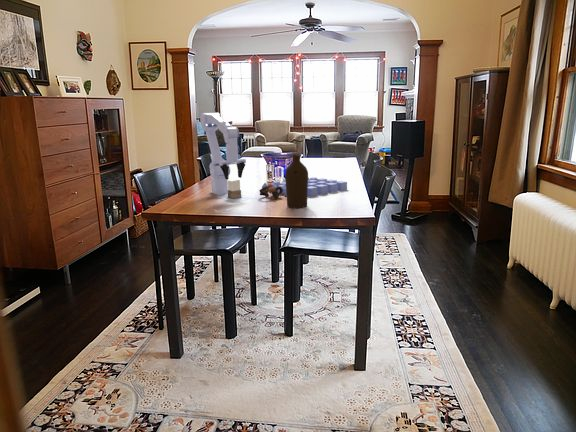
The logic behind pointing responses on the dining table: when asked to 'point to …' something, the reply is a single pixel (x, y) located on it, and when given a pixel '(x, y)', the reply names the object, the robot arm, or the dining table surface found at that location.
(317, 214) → the dining table surface
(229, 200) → the board
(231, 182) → the ivory block
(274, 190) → the dark brown figurine
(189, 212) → the dining table surface
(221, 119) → the robot arm
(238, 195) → the walnut base block
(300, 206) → the olive oil
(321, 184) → the blocks
